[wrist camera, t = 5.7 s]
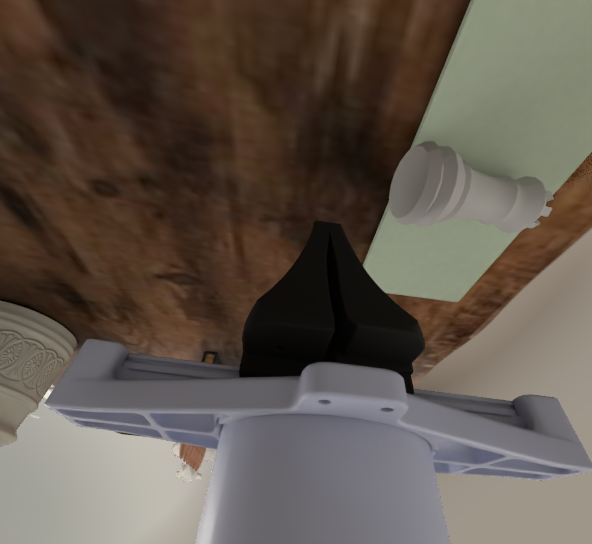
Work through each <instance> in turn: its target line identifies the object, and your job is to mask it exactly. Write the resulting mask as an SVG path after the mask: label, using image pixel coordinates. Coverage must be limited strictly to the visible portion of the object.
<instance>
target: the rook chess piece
mask: <svg viewBox="0 0 592 544" xmlns="http://www.w3.org/2000/svg"><path fill="white" fill-rule="evenodd" d="M552 199H554V198H553V195H552V192H551V191H546V190H545V187H544V185H543V183H542V182H541V181H540V180H539V179H537V178H536V177H529V176H525V177H522V178H519V179H516V180H514V179H512V178H511V177H510V176H504V175H501V176H499V177H492V176H489V175H487V174H484V173H482V172H479V171H477V170H474V169H472V168H471V167H470V166H469V164H468V163H467V162H466V161H465V160H464V159H462V158H461V156H460V155H459V154H458V153H457V152H456V151H455V150H454V149H452V148H451V147H449V146H438V145H437V144H436V143H435V142H434V141H425V142H423V143H421V144H419V145H417V146H415V147H413V148H412V149H411V150H409V151H408V152H407V153H406V154H405V156H404V157H403V158H402V160H401V161H400V163H399V165H398V167H397V169H396V171H395V173H394V176H393V180H392V183H391V187H390V194H389V205H390V210H391V212H392V214H393V216H394V217H395V218H396V220H397V221H398V222H399V223H401V224H403V225H405V226H406V225H409V224H415V225H417V226H419V227H423V226H429V225H433V224H436V223H437V222H443V221H447V220H449V219H452V218H457V219H476V220H479V222H480V223H482V224H485V225H493V224H495V225H496V226H497V227H498V229H499V230H500V231H503V232H506V233H514V232H519V231H521V230H523V229H525V228H527V227H528V228H534V227H536V226H538V225H539V224H540V222H539V221H538V220H537V219H538V218H539V217H540V216H546V217H548V215H549V214H550V212H551V210H552V208H551V207H546V201H550V200H552Z"/></svg>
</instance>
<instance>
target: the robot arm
mask: <svg viewBox="0 0 592 544" xmlns="http://www.w3.org/2000/svg"><path fill="white" fill-rule="evenodd" d="M242 341H243V355H242V359H241V364H240V367H237V366H229V365H221V364H213V363H205V362H197V361H189V360H181V359H173V358H165V357H157V356H149V355H141V354H133V353H128V350H127V348H126V347H125V346H124V345H123V344H121V343H118V342H113V341H105V340H98V339H87V340H86V341H85V343H84V344H83V346H82V347H81V349H80V350H79V352H78V353H77V355H76V356H75V358H74V359H73V361H72V362H71V364H70V365H69V367H68V368H67V370H66V371H65V373H64V374H63V376H62V378H61V379H60V381H59V382H58V384H57V385H56V387H55V388H54V390H53V391H52V393H51V394H50V396H49V397H48V399H47V400H46V402H45V406H46V407H48V408H49V409H51V410H53V411H54V412H56V413H58V414H59V415H61V416H63V417H64V418H66V419H68V420H69V421H71V422H72V423H74V424H76V425H77V426H80V427H89V428H96V429H104V430H111V431H117V432H123V433H129V434H135V435H140V436H146V437H151V438H157V439H162V440H167V441H173V442H178V443H183V444H189V445H194V446H199V447H205V448H210V449H215V450H217V451H216V455H215V459H214V464H213V468H212V472H211V477H210V481H209V485H208V489H207V494H206V498H205V502H204V507H203V511H202V515H201V519H200V523H199V528H198V532H197V537H196V541H195V544H450V540H449V535H448V530H447V525H446V521H445V516H444V511H443V506H442V502H441V497H440V492H439V488H438V484H437V479H436V474H435V473H443V474H464V475H481V476H499V477H510V478H522V479H531V480H540V481H542V480H548V479H554V478H559V477H565V476H570V475H576V474H582V473H587V472H592V462H591V461H590V459H589V457H588V455H587V453H586V451H585V449H584V448H583V446H582V444H581V442H580V440H579V438H578V436H577V435H576V433H575V431H574V429H573V427H572V425H571V423H570V421H569V420H568V418H567V416H566V414H565V412H564V410H563V408H562V407H561V405H560V403H559V401H558V399H556V398H554V397H546V396H539V395H522V396H519V397H517V398H516V399H514V400H513V401H506V400H498V399H490V398H483V397H475V396H466V395H458V394H450V393H443V392H435V391H427V390H419V389H413V384H412V379H411V374H412V373H413V367H412V362H413V361H414V360H415V359H416V358H417V357H418V356H419V355H420V354H421V353H422V351H423V350H424V348H425V342H424V338H423V334H422V331H421V328H420V326H419V323H418V321H417V320H416V319H415V318H414V317H412V316H411V315H410V314H408V313H407V312H406V311H405V310H403V309H402V308H401V307H400V306H398V305H397V304H396V303H395V302H394V301H393V300H392V299H391V298H390V297H389V296H388V295H387V294H386V293H385V292H384V291H383V290H382V289H381V288H380V287H379V286H378V285H377V284H376V283H375V282H374V280H373V279H372V278H371V277H370V275H369V274H368V273H367V271H366V270H365V268H364V267H363V265H362V264H361V262H360V261H359V259H358V257H357V256H356V254H355V252H354V250H353V248H352V247H351V245H350V243H349V241H348V239H347V236H346V234H345V232H344V230H343V227H342V225H341V224H336V223H329V222H322V221H315V222H314V223H313V228H312V233H311V235H310V238H309V240H308V242H307V244H306V246H305V248H304V249H303V251H302V253H301V254H300V256H299V257H298V259H297V260H296V262H295V263H294V265H293V266H292V267H291V268H290V270H289V271H288V272H287V273H286V274H285V276H284V277H283V278H282V279H281V280H280V281H279V282H278V283H277V284H276V285H275V286H274V287H273V288H271V289H270V290H269V291H268V292H267V293H265V294H264V295H263V296H262V297H260V298H259V299H258V300H257V302H256V303H255V305H254V306H253V308H252V310H251V312H250V314H249V315H248V318H247V320H246V323H245V326H244V331H243V336H242Z"/></svg>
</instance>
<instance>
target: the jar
mask: <svg viewBox="0 0 592 544" xmlns="http://www.w3.org/2000/svg"><path fill="white" fill-rule="evenodd" d="M76 346H77V341H76V339H75V337H74V336H73V334H72V333H71V332H70V331H69V330H67V329H66V328H65V327H64V326H62V325H61V324H59V323H58V322H56V321H54V320H52V319H51V318H49V317H47V316H45V315H42V314H40V313H38V312H36V311H33V310H31V309H28V308H25V307H22V306H19V305H16V304H12V303H9V302H4V301H0V447H2V446H5V445H8V444H11V443H13V442H15V441H16V440H17V433H16V431H17V429H18V427H19V426H20V424H21V423H22V422H23V420H24V419H25V418H26V417H27V415H28V414H29V413H32V412H34V411H36V410H37V408H38V404H39V402H40V401H41V399H42V398H43V396H44V395H45V393H46V392H47V390H48V389H49V388H50V386H51V385H52V383H53V382H54V380H55V379H56V377H57V376H58V374H59V373H60V371H61V370H62V368H63V367H64V366H65V365H66V364H67V363H68V362H69V360H70V358H71V357H72V356H73V354H74V350H75V348H76Z"/></svg>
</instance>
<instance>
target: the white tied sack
mask: <svg viewBox="0 0 592 544" xmlns="http://www.w3.org/2000/svg"><path fill="white" fill-rule="evenodd" d="M179 451H180V443H178V442H176V443H175V444H174V446H173V447H172V452H173V454H174V455H175V456H177V457H179V458H180V455H179ZM216 451H217V450H215V449H210V448H206V452H205V455H204V458H203V460H202V461H213V460H214V459H215V455H216ZM182 458H183V457H182ZM176 477H181V478H183V481H184V482H185V481H189V482H191V480H192V479H196V478H197V479H199V480H200V479H201V478H202V476H201V474H199V473H198V470H197V471H196V472H195V468H194V469H192V466H191V467H190V466H189V464H186V465H185V464H184V463H182V467H181V470H180V471H178V472H177V473H176Z"/></svg>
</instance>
